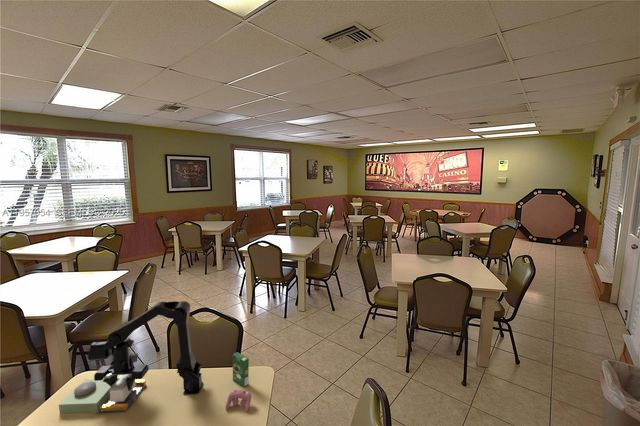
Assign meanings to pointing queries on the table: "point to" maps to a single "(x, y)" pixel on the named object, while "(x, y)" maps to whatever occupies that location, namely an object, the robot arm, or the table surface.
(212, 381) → the table surface
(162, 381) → the table surface
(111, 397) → the chute block
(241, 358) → the coffee box
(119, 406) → the white yellow tray
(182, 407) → the table surface
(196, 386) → the robot arm
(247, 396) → the video game controller
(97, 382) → the green slab
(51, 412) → the table surface
